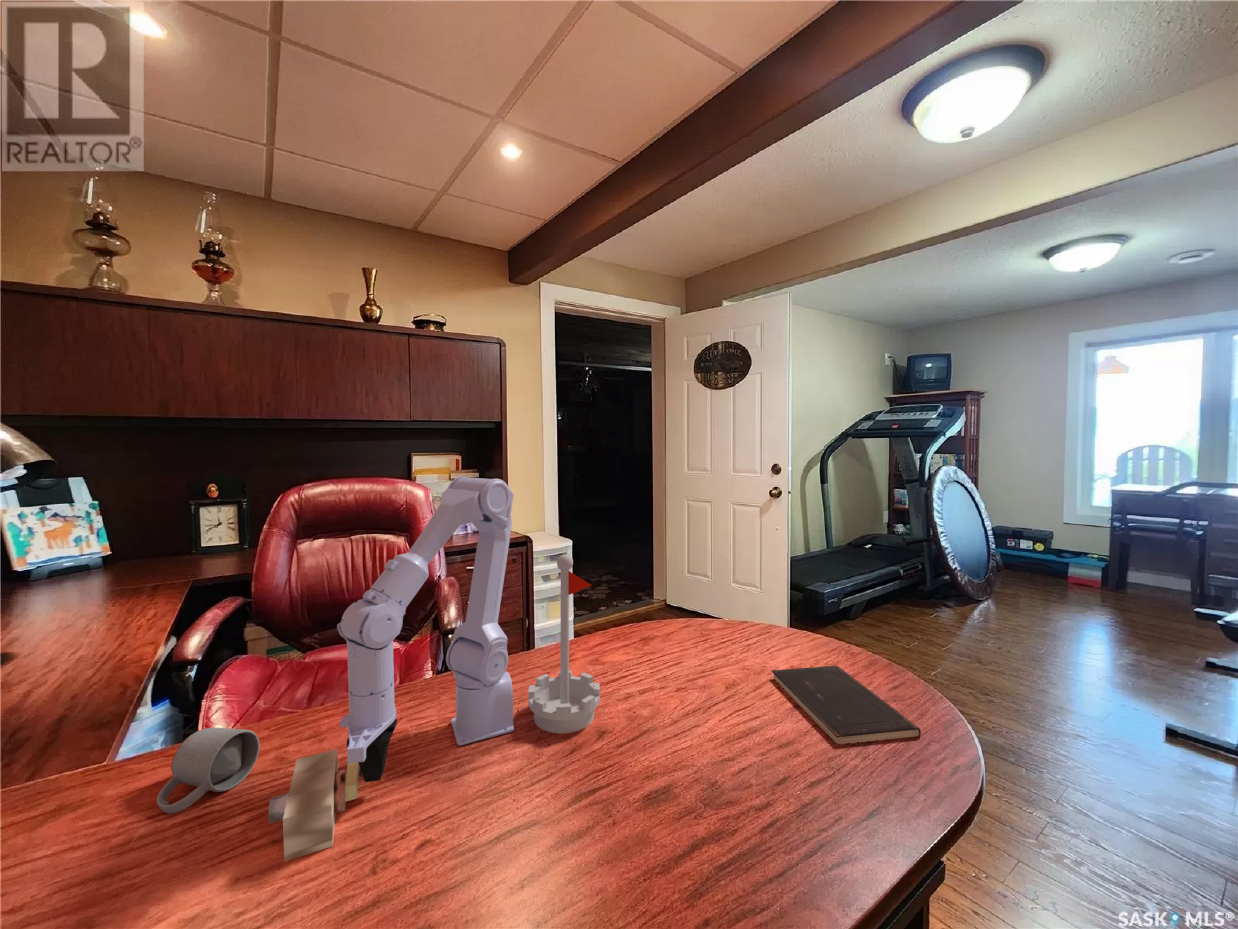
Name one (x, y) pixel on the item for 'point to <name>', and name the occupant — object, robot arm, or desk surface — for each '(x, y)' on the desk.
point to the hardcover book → (844, 705)
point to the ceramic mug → (210, 764)
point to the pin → (279, 802)
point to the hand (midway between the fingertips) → (373, 778)
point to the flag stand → (565, 675)
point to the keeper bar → (352, 781)
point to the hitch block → (310, 806)
